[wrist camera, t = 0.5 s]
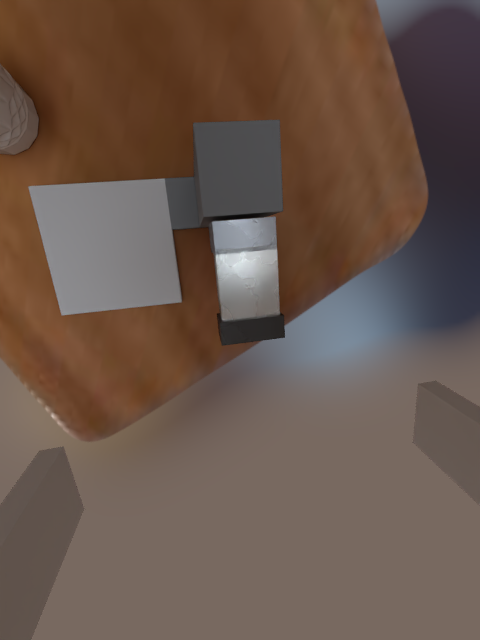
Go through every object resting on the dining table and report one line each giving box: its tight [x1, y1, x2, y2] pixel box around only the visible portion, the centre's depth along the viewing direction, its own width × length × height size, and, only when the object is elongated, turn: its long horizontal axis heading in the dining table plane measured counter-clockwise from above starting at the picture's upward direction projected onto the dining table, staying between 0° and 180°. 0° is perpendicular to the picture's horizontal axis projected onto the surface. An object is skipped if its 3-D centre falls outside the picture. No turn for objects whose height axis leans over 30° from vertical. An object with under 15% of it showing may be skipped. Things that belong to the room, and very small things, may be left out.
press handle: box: [209, 217, 285, 345], centre depth 21 cm, size 8×4×5 cm, turn 4°
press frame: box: [28, 120, 283, 315], centre depth 25 cm, size 13×21×16 cm, turn 94°
